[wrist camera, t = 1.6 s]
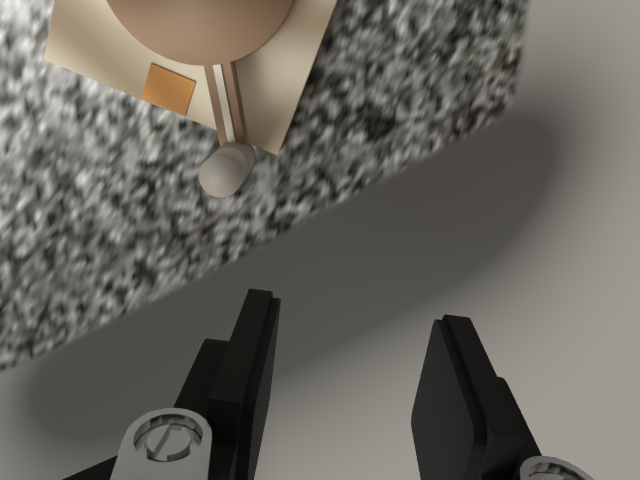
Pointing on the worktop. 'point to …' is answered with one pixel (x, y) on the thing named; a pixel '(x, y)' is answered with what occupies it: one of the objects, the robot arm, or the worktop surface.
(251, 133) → the base board
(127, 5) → the walnut dial
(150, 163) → the worktop surface
